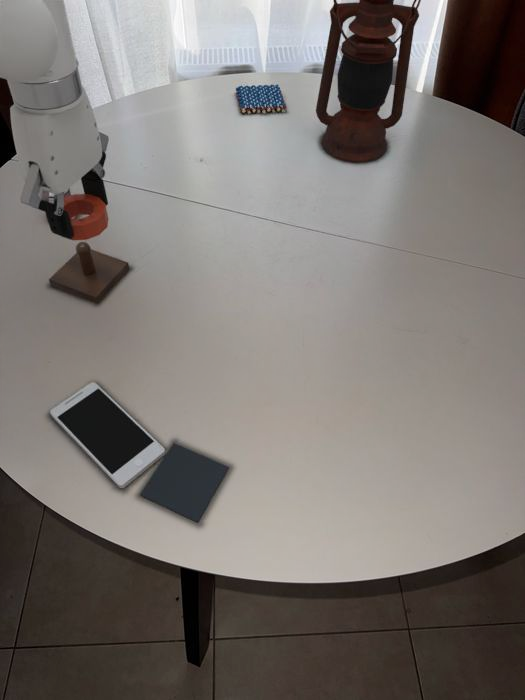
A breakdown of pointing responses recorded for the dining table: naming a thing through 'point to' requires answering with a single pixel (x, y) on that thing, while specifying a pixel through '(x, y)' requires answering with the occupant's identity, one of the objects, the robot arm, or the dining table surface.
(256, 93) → the blue beaded mat
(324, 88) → the lantern
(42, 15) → the robot arm
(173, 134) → the dining table surface
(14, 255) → the dining table surface
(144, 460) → the smartphone
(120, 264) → the ring holder
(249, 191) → the dining table surface
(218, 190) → the dining table surface
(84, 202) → the ring
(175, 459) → the coaster
